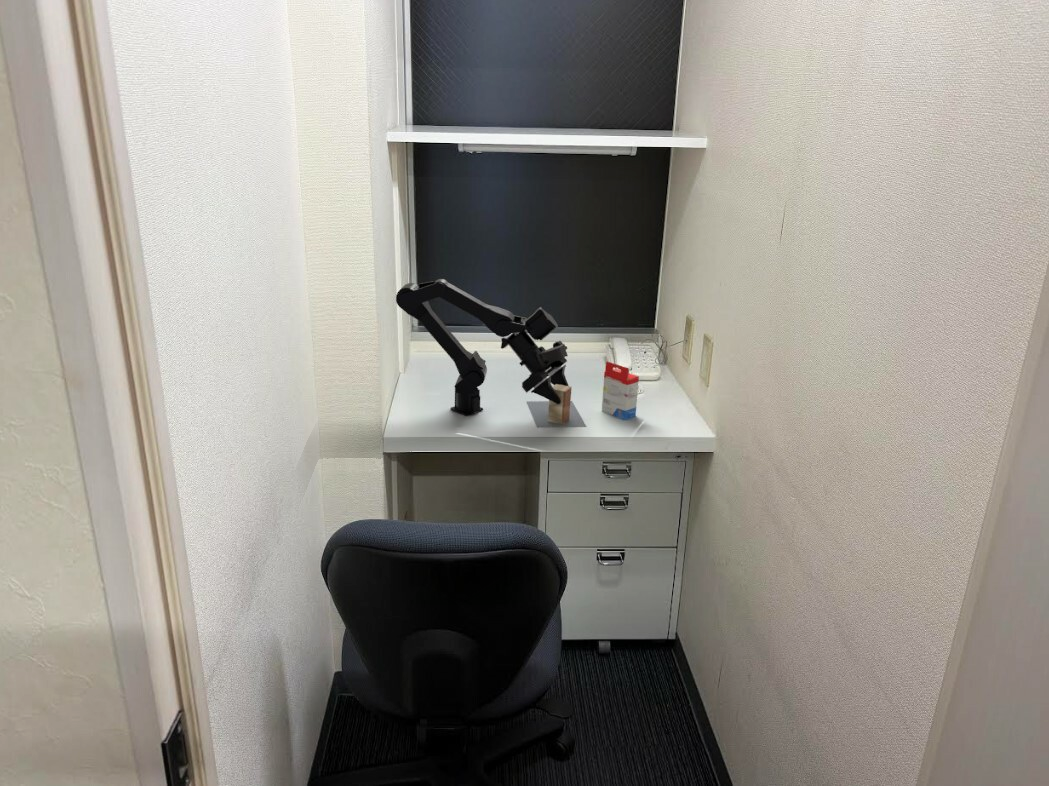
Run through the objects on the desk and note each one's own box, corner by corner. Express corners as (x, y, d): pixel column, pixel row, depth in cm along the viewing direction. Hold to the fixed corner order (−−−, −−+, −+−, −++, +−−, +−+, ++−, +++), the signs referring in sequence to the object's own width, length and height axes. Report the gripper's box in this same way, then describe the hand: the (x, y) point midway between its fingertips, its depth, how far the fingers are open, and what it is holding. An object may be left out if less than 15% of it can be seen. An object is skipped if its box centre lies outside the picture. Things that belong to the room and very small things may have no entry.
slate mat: (586, 428, 204) (586, 426, 204) (536, 428, 202) (537, 427, 202) (571, 402, 222) (571, 401, 221) (526, 402, 220) (526, 401, 219)
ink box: (636, 417, 213) (641, 365, 208) (624, 421, 210) (629, 369, 205) (612, 408, 219) (616, 357, 214) (600, 412, 215) (604, 360, 211)
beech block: (547, 421, 206) (549, 388, 203) (553, 415, 210) (555, 383, 207) (563, 424, 205) (565, 391, 202) (569, 418, 208) (571, 386, 205)
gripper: (535, 342, 193) (575, 392, 193) (562, 325, 209) (598, 371, 209) (505, 367, 198) (543, 416, 198) (533, 349, 215) (568, 394, 214)
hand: (565, 398), depth 205 cm, fingers open, 7 cm apart
